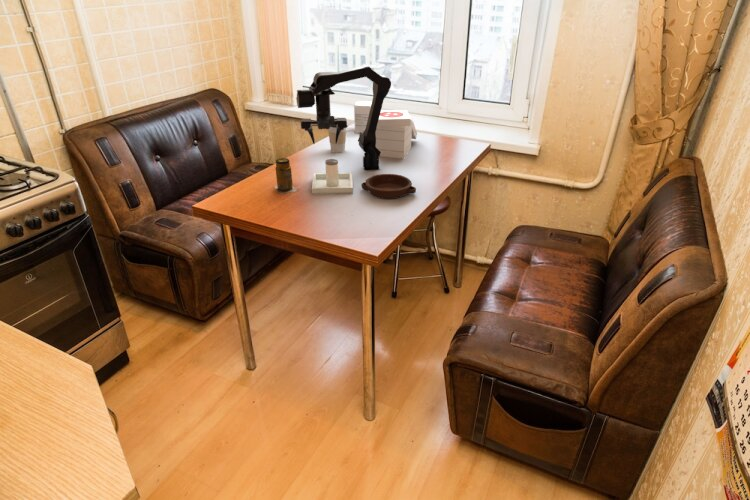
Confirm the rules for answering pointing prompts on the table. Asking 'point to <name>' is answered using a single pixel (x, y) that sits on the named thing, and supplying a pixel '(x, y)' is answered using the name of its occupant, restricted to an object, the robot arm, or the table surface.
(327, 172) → the jar
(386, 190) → the dish
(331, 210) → the table surface
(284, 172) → the condiment
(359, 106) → the supplement box
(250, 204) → the table surface
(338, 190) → the tray
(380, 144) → the pizza boxes
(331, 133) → the coffee cup
